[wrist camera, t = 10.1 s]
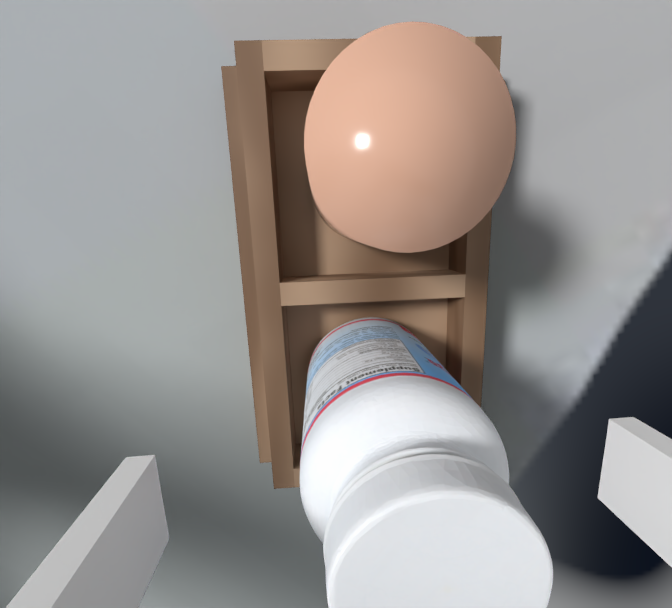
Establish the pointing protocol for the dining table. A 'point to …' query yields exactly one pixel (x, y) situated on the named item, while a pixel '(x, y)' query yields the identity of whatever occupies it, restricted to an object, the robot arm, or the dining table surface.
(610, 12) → the dining table surface
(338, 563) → the pill bottle
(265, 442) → the rack
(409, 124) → the peach capsule shape
